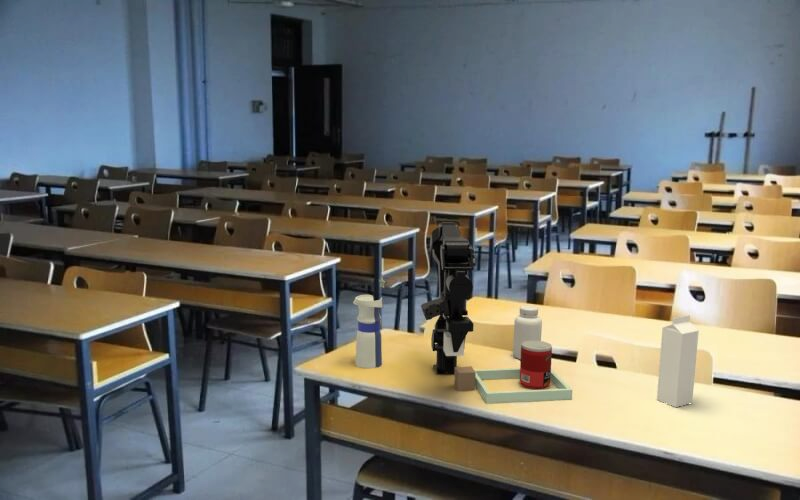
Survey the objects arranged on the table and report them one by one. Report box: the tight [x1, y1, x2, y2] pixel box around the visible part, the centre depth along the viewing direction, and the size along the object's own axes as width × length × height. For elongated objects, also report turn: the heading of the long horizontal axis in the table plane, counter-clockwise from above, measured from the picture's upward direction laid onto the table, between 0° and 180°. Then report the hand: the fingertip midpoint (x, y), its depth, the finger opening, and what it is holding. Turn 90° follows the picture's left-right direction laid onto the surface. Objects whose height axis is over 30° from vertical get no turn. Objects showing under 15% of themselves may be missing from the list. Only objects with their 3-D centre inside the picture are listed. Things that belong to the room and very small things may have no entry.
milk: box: [656, 315, 699, 408], centre depth 178 cm, size 6×6×22 cm
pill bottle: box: [512, 305, 543, 360], centre depth 212 cm, size 8×8×15 cm
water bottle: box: [352, 276, 386, 369], centre depth 204 cm, size 8×9×25 cm
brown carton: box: [453, 365, 476, 392], centre depth 188 cm, size 4×4×5 cm
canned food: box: [519, 340, 553, 390], centre depth 190 cm, size 8×8×11 cm
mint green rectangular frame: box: [474, 367, 573, 404], centre depth 188 cm, size 17×22×2 cm
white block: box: [443, 332, 465, 357], centre depth 184 cm, size 4×4×5 cm
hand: (453, 349), depth 184 cm, fingers closed on white block, 4 cm apart
